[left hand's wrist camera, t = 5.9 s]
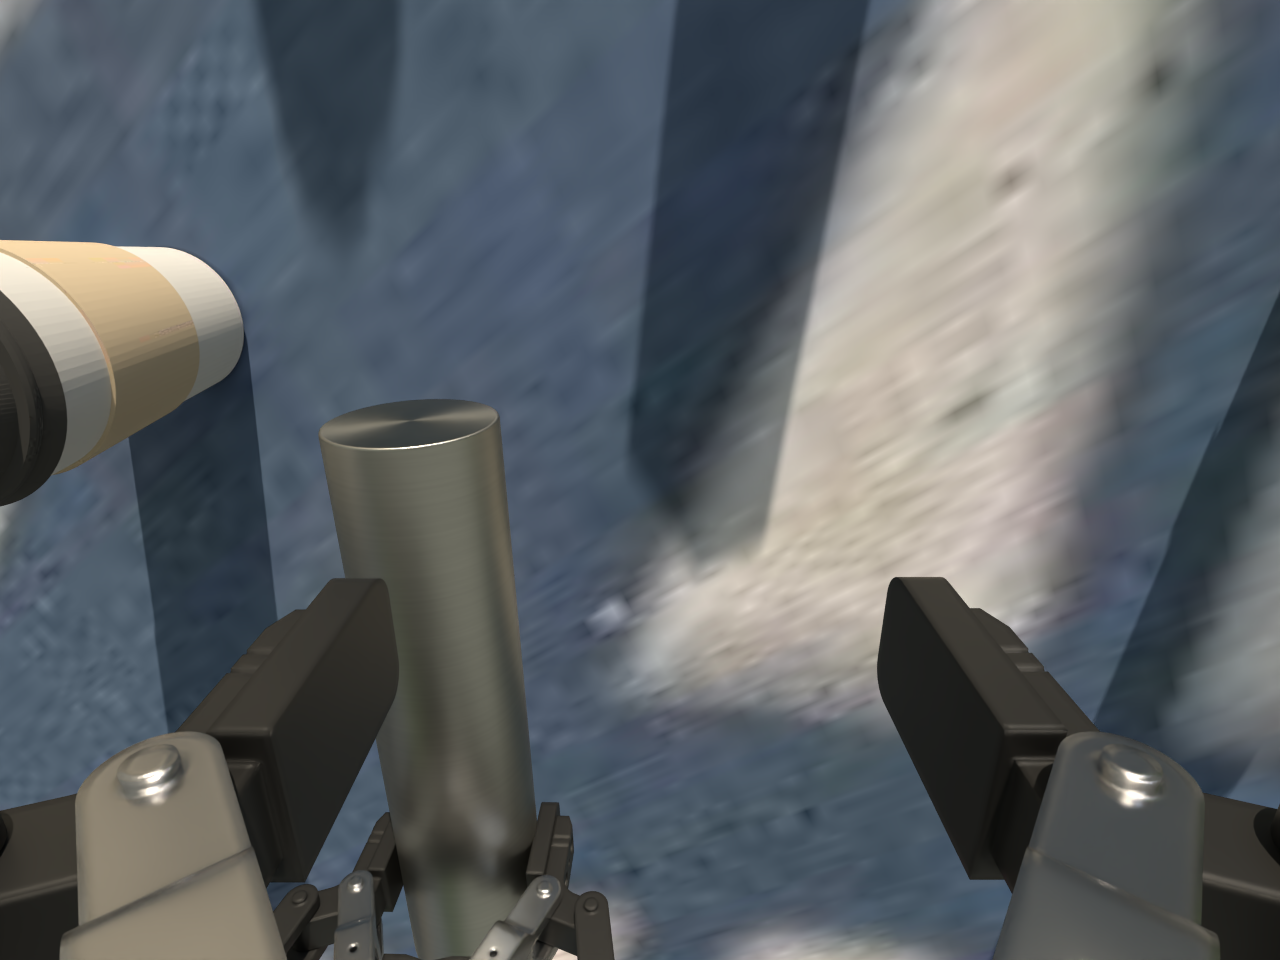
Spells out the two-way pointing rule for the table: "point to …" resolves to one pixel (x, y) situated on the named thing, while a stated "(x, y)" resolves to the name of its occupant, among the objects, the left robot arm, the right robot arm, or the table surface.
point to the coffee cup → (101, 349)
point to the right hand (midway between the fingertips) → (482, 816)
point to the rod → (443, 655)
